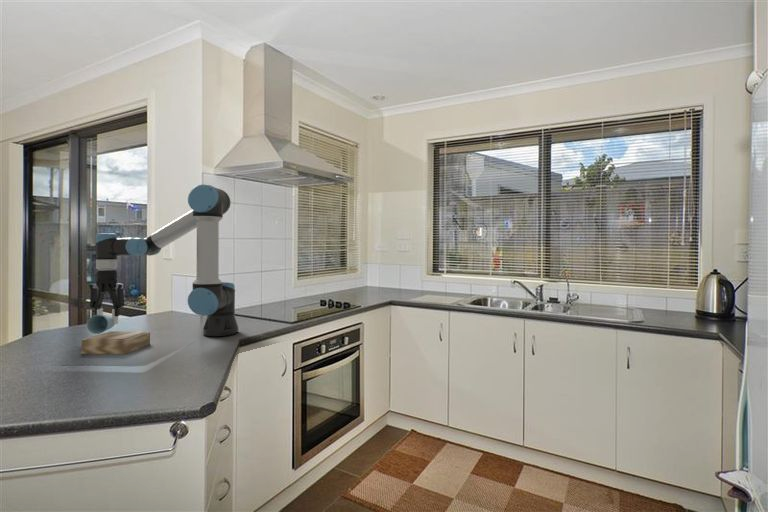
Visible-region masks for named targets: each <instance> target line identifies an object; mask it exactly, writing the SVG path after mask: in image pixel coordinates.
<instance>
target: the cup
mask: <svg viewBox="0 0 768 512" xmlns="http://www.w3.org/2000/svg"><path fill="white" fill-rule="evenodd" d="M115 325H116V324H114V325H113V319H112V315H107V314H106V315H104V314H103V315H95V314H94V315H91V316H90V318H88V320H87V322H86V328H87V330H88V332H90V333H91V334H95V335H100V334H103V333H105V332H106V331H108V330H110V329H112V328H113V327H115Z"/></svg>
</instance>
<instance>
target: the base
mask: <svg viewBox="0 0 768 512" xmlns="http://www.w3.org/2000/svg"><path fill="white" fill-rule="evenodd" d="M149 345H151V331H117V330H115V331H114V330H113V331H111V330H110V331H108V332H103V333H100V334H96V335H94V336H91V337H87V338H84V339H81V354H82V355H83V354H84V355H85V354H87V355H88V354H89V355H90V354H91V355H127V354H129V353H132V352H134V351H137V350H140V349H141V348H144V347H147V346H149Z"/></svg>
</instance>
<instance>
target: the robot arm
mask: <svg viewBox="0 0 768 512" xmlns="http://www.w3.org/2000/svg"><path fill="white" fill-rule="evenodd" d="M231 202H232V201H231V198H230V196H229V194H228V193H227V192H226V191H225V190H223V189H221V188H217V187H215V186H213V185H210V184H198V185H196V186H194V187H193V188H191V190H190V191H189V193H188V195H187V203H188V205H189V207H190V208H191V210H189V211H188V212H187V213H185V214H183V215H181V216H180V217H178V218H176V219H175V220H173V221H171V222H170V223H168V224H166V225H164V226H163V227H161V228H159V229H158V230H156V231H154V232H153V233H151V234H150V235H148V236H147V237H145V238H143V237H135V236H133V237H118V235H117V234H116V233H113V232H112V233H110V232H106V233H105V232H102V233H101V232H99V233H97V234H96V235H95V243H94V245H95V253H96V254H95V255H96V256H95V269H96V271H95V279H96V282H95V283H91V284H89V289H90V298H89V299H90V300H89V307H90V308H91V309H92V308H93V309H94V315H104V308H103V307H102V306H103V301H104V299H105V298H104V297H105V295H106V293H107V294H109V296H110V300H111V304H112V307H113V308H112V309H111V314H112V315H111V316H112V319H113V325H114V324H115V325H118V324H119V316H120V315H121V311H120V309H121V308H123V307H125V294H124V293H125V292H124V288H125V286H126V285H125V283H120V282H119V281H118V270H117V269H118V256H125V257H126V256H133V257H135V256H136V257H138V256H155V255H157V254H159V253H160V252H161V250H162V249H163V248H164V247H167V246H168V245H170V244H171V243H173V242H175V241H177V240H178V239H180V238H182V237H183V236H185V235H187V234H188V233H190V232H191V231H194V230H195V229H196V278H195V280H194V281H192V289H191V292H190V293H189V294H188V296H187V306H188V307H189V309H190V310H191V312H192V313H194V314H195V315H198V316H202V317H203V316H206V318H205V322H204V325H203V328H202V335H203V336H209V337H210V336H211V337H224V336H232V335H235V334H234V333H236V332H238V331H239V325H238V321H237V318H236V315H235V313H236V312H235V307H236V306H235V304H236V297H235V296H236V288H235V284H234V283H233V282H226V281H225V282H223V281H222V280H221V279H220V278H219V269H220V268H219V255H220V254H219V253H220V252H219V250H220V248H219V247H220V245H219V244H220V243H219V242H220V241H219V238H220V237H219V233H220V232H219V231H220V230H219V229H220V227H219V226H220V225H219V224H220V222H221V220H222V219H223V215H225V214H226V213H227V212H228V211H229V209H230V208H231ZM115 325H114V326H115ZM238 333H239V332H238ZM231 334H232V335H231ZM236 334H237V333H236Z"/></svg>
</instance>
